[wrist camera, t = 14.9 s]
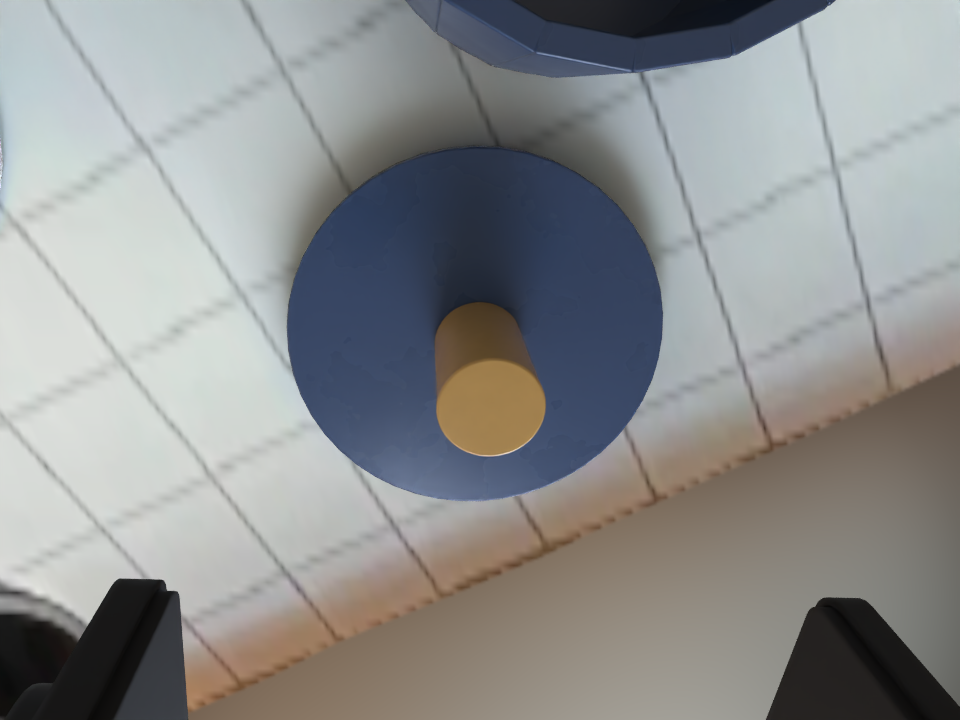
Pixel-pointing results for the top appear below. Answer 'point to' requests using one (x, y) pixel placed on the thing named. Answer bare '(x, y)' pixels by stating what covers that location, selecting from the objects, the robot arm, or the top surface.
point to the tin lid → (474, 323)
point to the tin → (608, 31)
